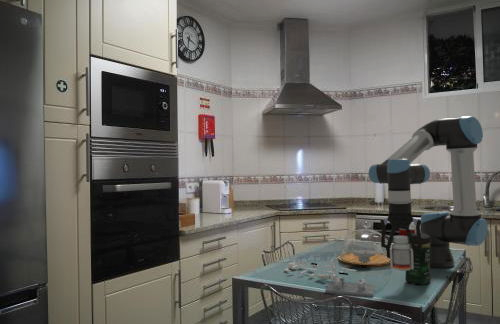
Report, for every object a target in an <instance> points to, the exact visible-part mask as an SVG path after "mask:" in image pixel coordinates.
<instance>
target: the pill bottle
mask: <svg viewBox="0 0 500 324" xmlns="http://www.w3.org/2000/svg"><path fill="white" fill-rule="evenodd" d="M392 243H393V244H391V245H392V246H391V248H392V258H393V268H392V269H393V270H396V271H401V272H406V271H407V270H410V269H411V248H410V245H409V244H408V243H409V237H407V236H399V235H394V237H393V240H392Z"/></svg>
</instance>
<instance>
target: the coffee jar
mask: <svg viewBox="0 0 500 324" xmlns="http://www.w3.org/2000/svg"><path fill="white" fill-rule="evenodd" d="M420 234H421V242H422V248H421V249H417V258H416V259H413V264H414V269H410V270H407V271H405V281H406V282H407V283H409V284H411V285H426V284H428V283H430V281H431V279H432V278H431V276H432V275H431V267H430V237H429V236H428V235H427V234H426V233H421V232H420ZM411 235H412V237H413V240H414V243H415V245H418V242H417V233H416V232H415V233H414V234H411ZM407 237H408V236H407ZM408 244H409V245H410V248H411V249H413V248H412V245H411V243H410V240H409V243H408Z"/></svg>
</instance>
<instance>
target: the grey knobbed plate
mask: <svg viewBox="0 0 500 324" xmlns="http://www.w3.org/2000/svg"><path fill="white" fill-rule="evenodd" d="M375 289H376V284H375V283H367V281H366V279H364V278H362V277H361V278H359V281H358V282H348V281H345V278H344V277H343V276H339V277H338V276H337V278H336V279H335V281H334V280H330V282H329V283H328V285H327V287H326V288H325V293H326V294H336V295H347V296H357V297H368V298H374V297H375Z"/></svg>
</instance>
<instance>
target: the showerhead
mask: <svg viewBox="0 0 500 324" xmlns="http://www.w3.org/2000/svg"><path fill="white" fill-rule="evenodd" d="M352 254H353V256H356V257H358V262H360V263H362V262H363V263H367V264H368V263H370V260H371V259H370V258H372V257H374V256H376V252H375V251H374V250H371V249H363V248H362V249H354V250H353V252H352Z"/></svg>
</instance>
